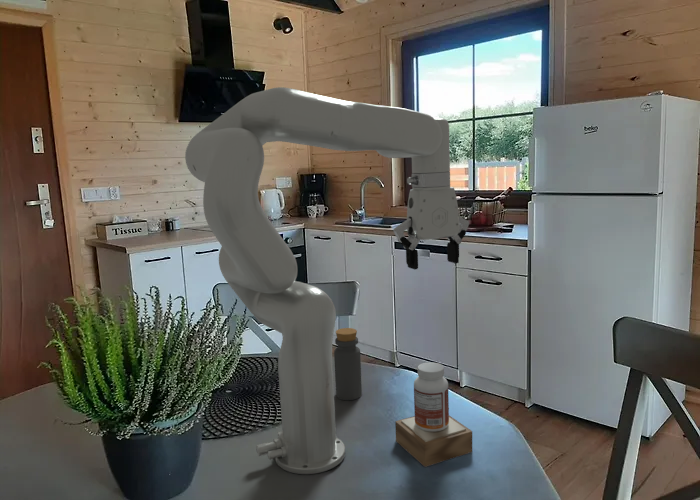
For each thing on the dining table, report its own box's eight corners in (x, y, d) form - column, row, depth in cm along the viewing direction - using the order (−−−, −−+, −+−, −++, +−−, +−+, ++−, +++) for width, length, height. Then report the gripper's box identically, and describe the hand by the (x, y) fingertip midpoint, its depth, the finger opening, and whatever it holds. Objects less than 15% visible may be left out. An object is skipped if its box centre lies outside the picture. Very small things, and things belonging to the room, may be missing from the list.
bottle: (333, 391, 127) (330, 329, 124) (357, 387, 128) (354, 325, 126) (340, 402, 121) (337, 336, 119) (365, 397, 123) (363, 333, 120)
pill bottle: (430, 413, 105) (429, 357, 103) (456, 424, 100) (455, 366, 98) (407, 424, 101) (406, 366, 99) (432, 436, 96) (431, 376, 94)
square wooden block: (424, 466, 95) (424, 443, 94) (395, 441, 104) (395, 419, 103) (472, 452, 99) (472, 429, 98) (440, 428, 108) (440, 407, 107)
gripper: (402, 185, 104) (405, 274, 107) (478, 179, 111) (479, 262, 113) (384, 184, 111) (387, 267, 114) (456, 178, 117) (457, 257, 120)
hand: (433, 265), depth 114 cm, fingers open, 9 cm apart
